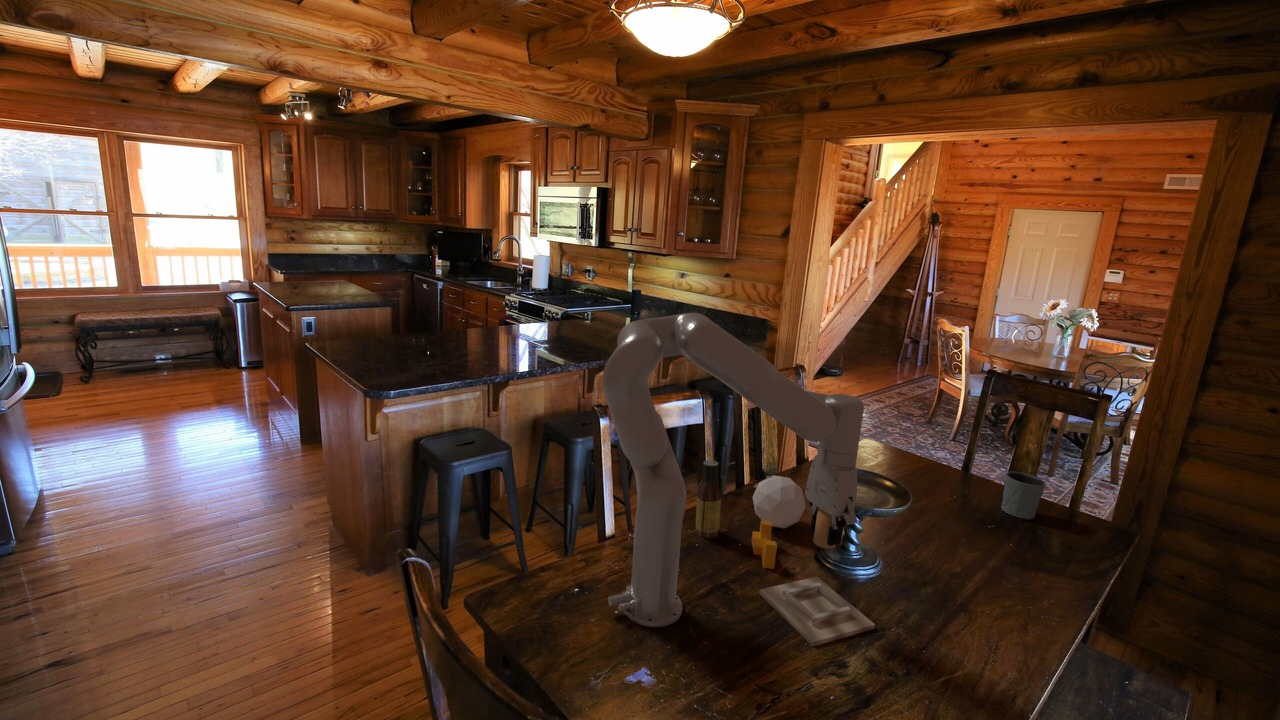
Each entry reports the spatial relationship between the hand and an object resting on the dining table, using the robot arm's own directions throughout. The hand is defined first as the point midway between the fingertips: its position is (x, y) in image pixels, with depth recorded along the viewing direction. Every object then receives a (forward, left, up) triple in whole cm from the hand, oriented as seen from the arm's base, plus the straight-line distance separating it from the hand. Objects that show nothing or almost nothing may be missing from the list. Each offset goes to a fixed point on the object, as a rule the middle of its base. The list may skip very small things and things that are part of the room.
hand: (825, 537), depth 123 cm
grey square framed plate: (0, 0, -17) cm, 17 cm away
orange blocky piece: (+2, +22, -18) cm, 29 cm away
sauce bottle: (-6, +36, -18) cm, 41 cm away
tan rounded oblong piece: (0, 0, -1) cm, 1 cm away
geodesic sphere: (+15, +35, -18) cm, 41 cm away
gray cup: (+92, +17, -18) cm, 95 cm away
